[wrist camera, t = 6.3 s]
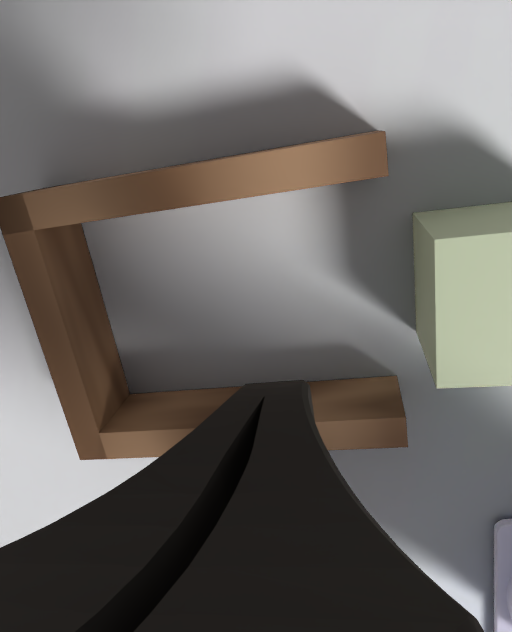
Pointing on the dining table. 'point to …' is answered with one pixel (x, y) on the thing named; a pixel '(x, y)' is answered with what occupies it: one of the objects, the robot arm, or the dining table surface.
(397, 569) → the robot arm
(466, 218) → the cube
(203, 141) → the dining table surface
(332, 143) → the frame
